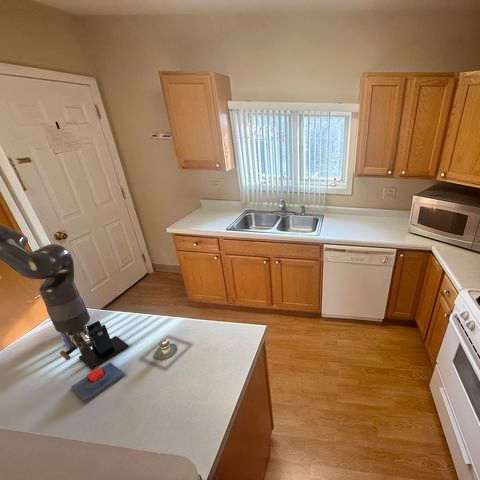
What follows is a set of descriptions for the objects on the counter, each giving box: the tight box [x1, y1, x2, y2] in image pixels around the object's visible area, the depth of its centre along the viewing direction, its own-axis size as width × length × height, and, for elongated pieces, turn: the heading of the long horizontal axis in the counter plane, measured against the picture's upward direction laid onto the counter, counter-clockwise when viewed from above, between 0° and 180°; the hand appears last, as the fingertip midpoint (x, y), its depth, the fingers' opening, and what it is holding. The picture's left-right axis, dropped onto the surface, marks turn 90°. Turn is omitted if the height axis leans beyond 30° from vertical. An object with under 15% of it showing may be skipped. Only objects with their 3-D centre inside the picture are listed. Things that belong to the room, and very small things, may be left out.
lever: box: [59, 325, 99, 361], centre depth 88 cm, size 12×5×2 cm, turn 151°
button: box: [87, 367, 104, 382], centre depth 84 cm, size 4×4×2 cm
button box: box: [70, 362, 125, 403], centre depth 85 cm, size 11×9×3 cm
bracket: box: [78, 320, 130, 371], centre depth 93 cm, size 12×9×13 cm
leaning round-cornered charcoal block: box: [59, 332, 75, 349], centre depth 100 cm, size 16×5×9 cm, turn 31°
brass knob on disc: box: [153, 338, 178, 361], centre depth 97 cm, size 12×12×5 cm
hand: (87, 355), depth 80 cm, fingers closed
